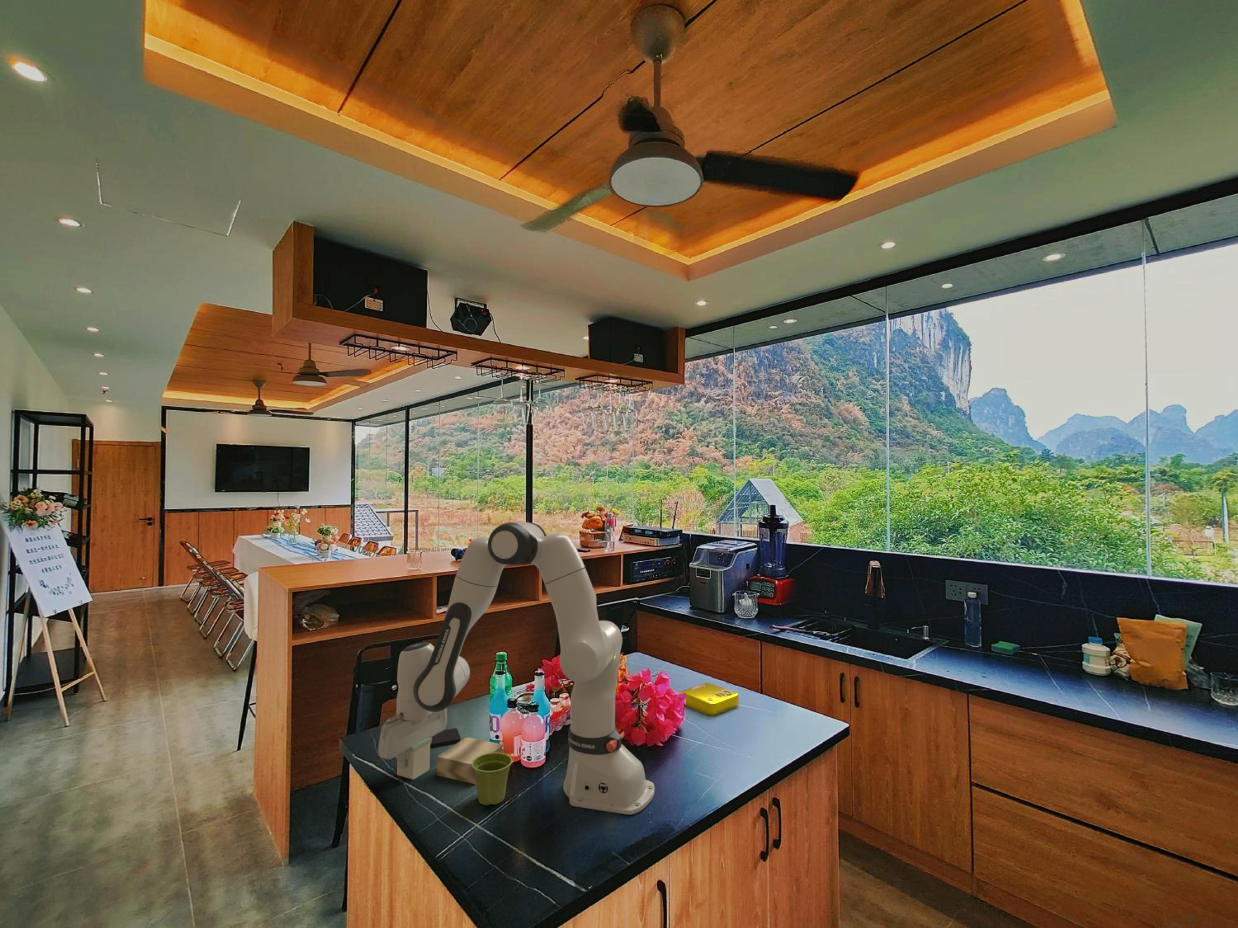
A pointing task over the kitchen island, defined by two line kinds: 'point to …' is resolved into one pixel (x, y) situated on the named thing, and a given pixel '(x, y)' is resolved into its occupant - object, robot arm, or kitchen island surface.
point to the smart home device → (445, 738)
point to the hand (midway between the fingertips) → (413, 761)
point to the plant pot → (491, 776)
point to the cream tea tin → (416, 760)
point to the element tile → (711, 699)
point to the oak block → (464, 758)
